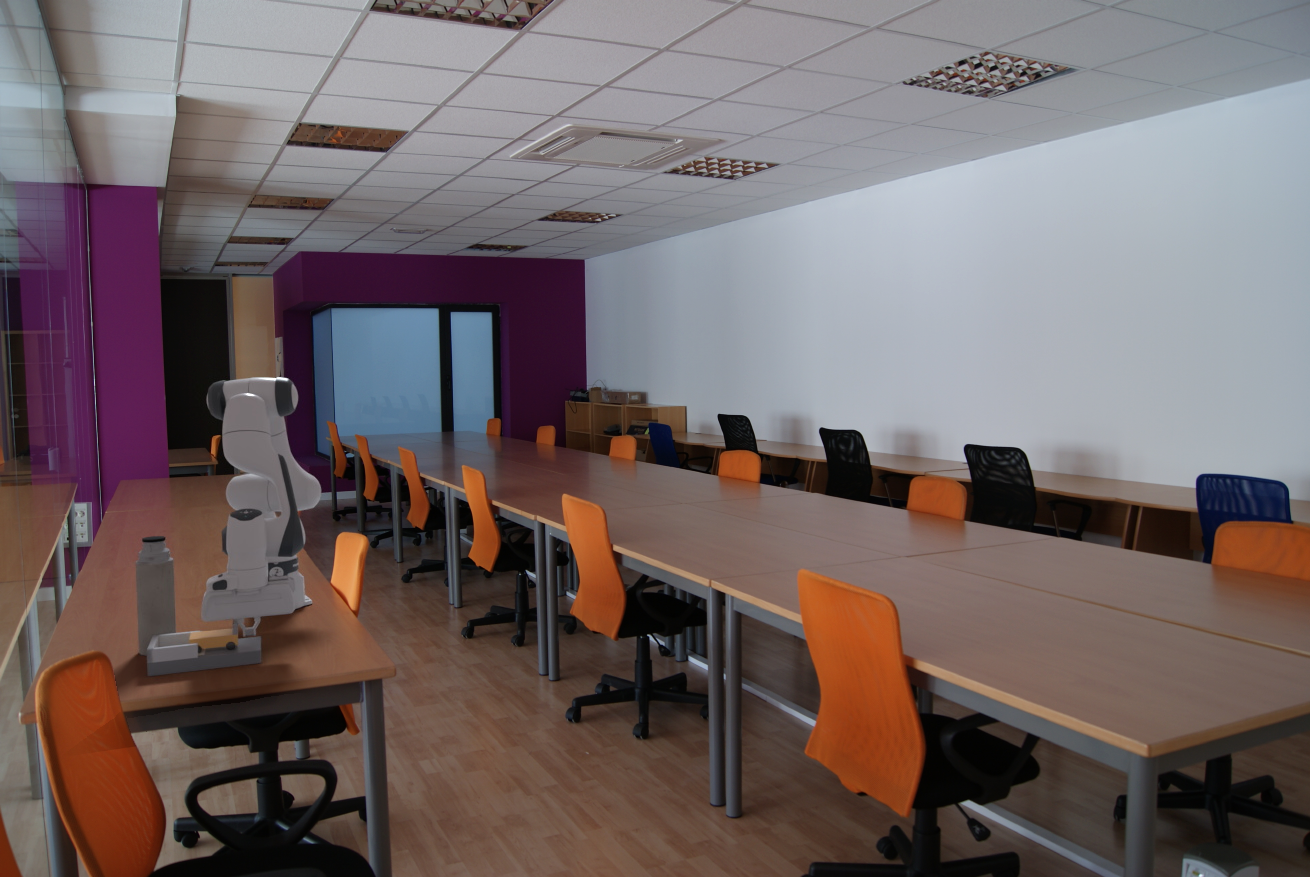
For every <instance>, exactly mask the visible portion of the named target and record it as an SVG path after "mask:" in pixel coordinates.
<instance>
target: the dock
mask: <svg viewBox="0 0 1310 877" xmlns="http://www.w3.org/2000/svg"><path fill="white" fill-rule="evenodd" d="M192 632H202V630H194V631H193V630H191V631H183V632H176V633H171V634H161V635H153V637H152V639H151V641H150V644H149V646H148V648H147V656H146V667H147V669H146V670H147V677H153V676H162V675H171V674H178V673H180V674H181V673H187V672H195V671H204V670H206V671H207V670H214V669H221V668H229V667H238V666H247V665H253V664H254V665H255V664H261V663H262V636H261V635H260V636H249V637H243V638H238V645H235V648H234V649H233V650H228V649H227V648H226V646H225V647H215V648H206V649H202V650H201V652H200V653H198V643H194V644H189V638H190V634H191V633H192Z"/></svg>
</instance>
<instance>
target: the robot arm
mask: <svg viewBox="0 0 1310 877" xmlns="http://www.w3.org/2000/svg"><path fill="white" fill-rule="evenodd" d="M298 402H299V394H298V390H297V387H296V386H295V383H294V381H292V380H291V379H289V378H287V377H280V376H277V377H276V378H275V377H267V376H266V377H264V376H263V377H260V376H259V377H255V376H254V377H250V378H238V379H233V380H232V379H231V380H226V379H225V380H219V381H216V382H213V383H212V384H211V385H210V386H209V387H208V390H207V395H206V404H207V408H208V410H209V413H210V415H211V416H213V417H214V418H215V419H217V420H221V421H222V438H221V439H222V449H223V455H224V457H225V459H226V461H227V462H228V463H229V464H230V465H231V466H233V467H234V468H236V469H238V470H239V471H242V472H245V473H246V474H241V475H237V476H234V477H232V478H231V479H230V481H229V482H228V484H227V486H226V489H225V498H226V501H227V503H228V504H229V506H230V507H231V508H232V509H233V510H234V511H231V512H230V513H229V515H228V518H227V525H225V527H224V528H223V529H222V530H221V543H222V544H221V546H222V547H221V548H222V549H221V551H222V552H223V554H224V555H227V557H228V561H227V564H226V571H224V572H221V573H219V574H216V575H213V576H210V577H209V578H207V581H206V583H205V585H206V590H205V592H204V594H203V597H202V600H201V602H202V603H201V607H200V608H201V610H200V619H201V620H202V621H203V622H204V623H211V622H219V621H231V620H232V621H233V619H237V621H238V627H240V629H241V630H242V637H243V638H246V637H256V636H257V628H258V626H259V625H260V622H261V621H262V620H261V617H269V616H280V615H281V616H282V615H289V614H292V613H294V611H295V610H296V609H300V608H302V607H304V606H308V605H311V604H313V600H312V599H311V598H310V597H309V596H307V594H306V588H305V577H304V575H303V574H302V573H300V572H299V565H300V564H299V557H298V556H297V554H298V553H299V552H301V551H302V550H303V549H304V548H305V544H306V531H305V528H304V525H303V522H302V520H301V518H300V514H299V512H300V511H304V510H305V511H307V510H310V509H314V508H315V507H316V506H317V505H318V504H319V502H320V500H321V496H322V487H321V486H322V485H321V484H320V481H319V480H318V479H317V478H316V477H315V476H314V475H312V474H311V473H308V472H307V471H306V470H305V469H304V468H302V467H301V466H300V464H299V463H298V462H297V460H296V459H295V458H294V456H293V454H292V452H291V447H290V444H289V440H288V434H287V427H286V421H285V417H286V416H289V415H292V414H293V413H295V411H296V410H297V405H298ZM276 512H280V515H279V516H278V517H277V515H276ZM249 618H250V619H251V618H253V620H254V624H253V626H249V627H247V626H246V625H245V624H244V623H245V619H249Z"/></svg>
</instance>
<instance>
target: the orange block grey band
mask: <svg viewBox="0 0 1310 877" xmlns="http://www.w3.org/2000/svg"><path fill="white" fill-rule="evenodd" d="M238 639H239V625H238V621H237V619H232V628H222V629H214V630H203V631H202V630H201V632H192V633H191V634H190V638H189V644H194V643H198V653H200V652H201V650H202V649H206V648H215V647H225V646H226V648H227V649H228V650H233V649H234V648H235V645H238Z"/></svg>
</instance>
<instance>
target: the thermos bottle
mask: <svg viewBox="0 0 1310 877" xmlns="http://www.w3.org/2000/svg"><path fill="white" fill-rule="evenodd" d="M141 541H142V549H141V550H140V551H139V552H138V555H137V558H138V560H136V561H135V578H136V580H135V583H136V584H135V585H136V586H135V587H136V607H137V609H136V610H137V632H138V633H137V634H138V637H137V638H138V653H139V655H140V656H146V657H147V648H148V646H149V644H150V641H151V639H152V637H153V635H161V634H171V633H177V624H176V594H175V591H176V590H175V566H174V565H175V564H174V563H175V562H174V558H173V557H171V553H172V552H171V550H170V549H169V548H167V547H166V546H167V545H166V536H163V535H155V536H154V535H153V536H146V537H142V538H141Z"/></svg>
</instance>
